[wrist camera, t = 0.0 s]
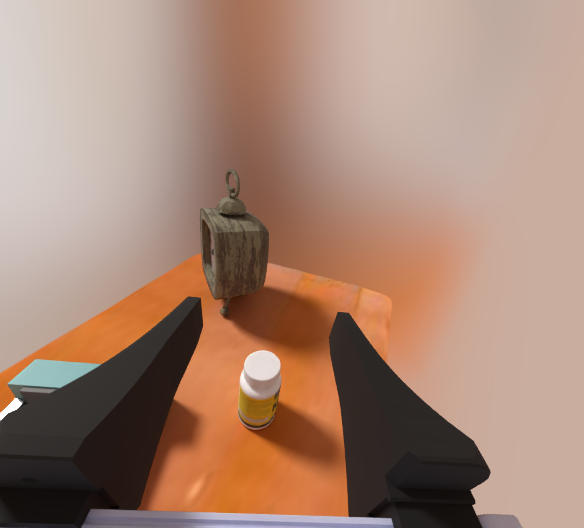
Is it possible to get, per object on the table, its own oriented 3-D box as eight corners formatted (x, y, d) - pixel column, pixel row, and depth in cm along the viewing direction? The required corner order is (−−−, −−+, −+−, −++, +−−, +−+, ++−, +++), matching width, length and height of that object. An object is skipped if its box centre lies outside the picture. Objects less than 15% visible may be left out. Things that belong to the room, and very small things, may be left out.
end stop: (156, 426, 26) (150, 398, 24) (21, 418, 25) (1, 388, 23) (170, 396, 29) (165, 369, 27) (50, 387, 28) (35, 359, 26)
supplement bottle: (276, 430, 28) (285, 384, 24) (235, 432, 27) (238, 384, 23) (275, 392, 32) (282, 347, 28) (239, 392, 31) (242, 347, 27)
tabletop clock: (202, 281, 53) (197, 160, 41) (241, 276, 57) (247, 165, 45) (217, 324, 42) (216, 175, 30) (264, 313, 46) (279, 180, 35)
